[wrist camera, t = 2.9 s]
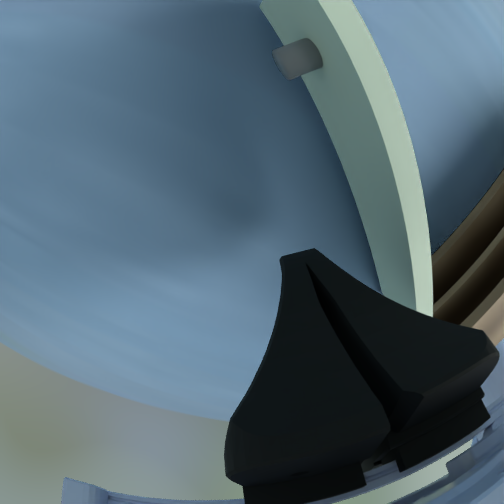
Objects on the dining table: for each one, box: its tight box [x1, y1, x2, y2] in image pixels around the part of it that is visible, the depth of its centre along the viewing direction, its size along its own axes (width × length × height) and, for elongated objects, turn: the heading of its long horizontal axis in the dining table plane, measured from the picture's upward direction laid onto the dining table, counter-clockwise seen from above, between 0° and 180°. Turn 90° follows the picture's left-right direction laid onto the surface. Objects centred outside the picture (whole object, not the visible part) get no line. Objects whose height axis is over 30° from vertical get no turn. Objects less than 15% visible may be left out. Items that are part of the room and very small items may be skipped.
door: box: [259, 0, 433, 317], centre depth 9 cm, size 2×16×4 cm, turn 28°
